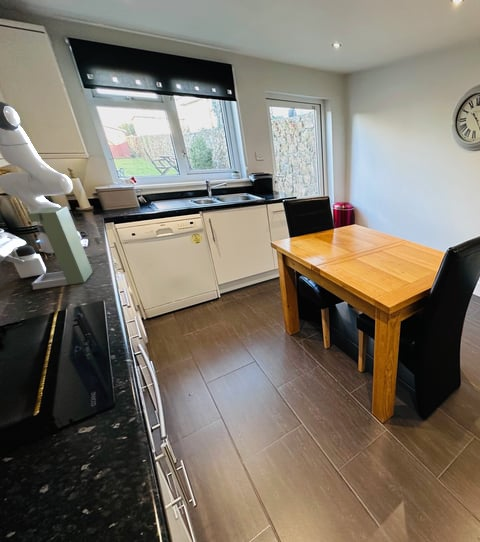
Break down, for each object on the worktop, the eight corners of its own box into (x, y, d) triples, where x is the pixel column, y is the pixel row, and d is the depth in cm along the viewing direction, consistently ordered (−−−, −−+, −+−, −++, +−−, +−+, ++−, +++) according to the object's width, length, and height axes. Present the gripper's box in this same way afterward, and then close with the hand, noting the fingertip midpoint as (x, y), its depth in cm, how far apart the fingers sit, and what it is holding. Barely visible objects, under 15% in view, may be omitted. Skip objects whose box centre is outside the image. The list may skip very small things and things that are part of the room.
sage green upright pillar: (45, 278, 118) (13, 209, 106) (92, 271, 125) (67, 206, 113) (32, 289, 108) (-5, 215, 97) (84, 282, 115) (55, 212, 104)
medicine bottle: (46, 268, 124) (34, 243, 119) (46, 273, 120) (33, 247, 115) (22, 273, 120) (8, 246, 115) (20, 278, 115) (6, 251, 110)
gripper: (-30, 240, 101) (22, 261, 109) (1, 226, 117) (44, 245, 125) (-42, 254, 100) (11, 273, 109) (-9, 238, 117) (34, 256, 125)
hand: (28, 258), depth 117 cm, fingers closed on medicine bottle, 8 cm apart
